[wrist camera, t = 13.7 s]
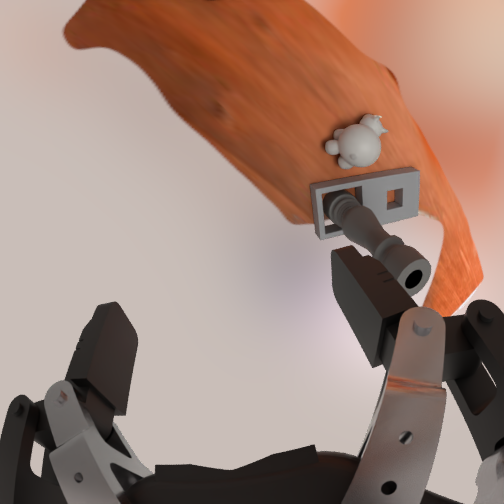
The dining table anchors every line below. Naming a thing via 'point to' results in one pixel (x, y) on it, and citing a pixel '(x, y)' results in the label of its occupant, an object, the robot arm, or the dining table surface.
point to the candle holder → (377, 240)
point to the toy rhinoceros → (357, 143)
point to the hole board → (371, 197)
